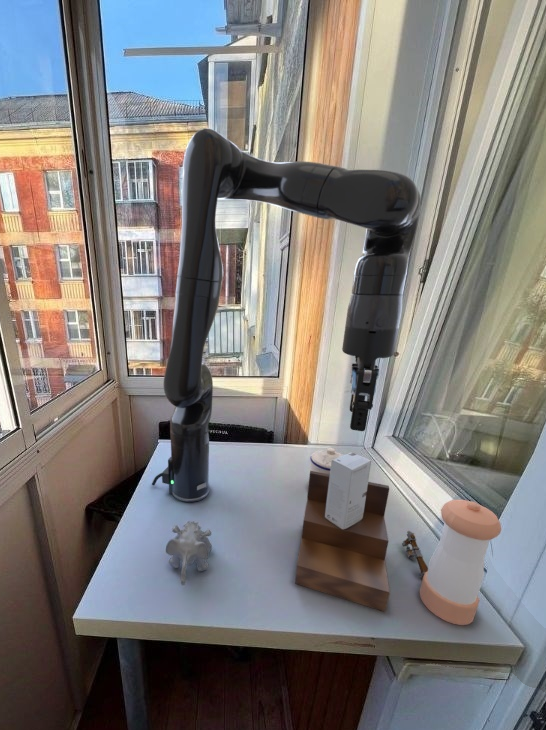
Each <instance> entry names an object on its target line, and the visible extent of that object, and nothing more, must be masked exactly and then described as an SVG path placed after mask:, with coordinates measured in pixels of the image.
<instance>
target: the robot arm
mask: <svg viewBox="0 0 546 730" xmlns="http://www.w3.org/2000/svg"><path fill="white" fill-rule="evenodd" d="M181 175H182V176H181V194H182V195H181V230H180V241H179V242H180V243H179V256H178V266H177V271H176V283H175V292H174V306H173V307H174V308H173V316H172V326H171V329H172V330H171V340H170V345H169V346H170V347H169V351H168V352H169V354H168V357H167V362H166V367H165V371H164V376H163V391H164V396H165V398H166V399H167V401H168V402H170V404H171V405H173V406H174V410H173V412H172V414H171V416H170V420H169V432H170V456H169V458H168V460H167V466H166V468H165V469H164V470H163V471H162V472H160V473H158V474H157V475H156V476H155V477H154V479H153V480H152V482H151V486H153V487H154V486H155V485H156V483H157V481H158V480H159V479H160V478H161V482H162V484H165V485H168V494H169V495H172V496H173V497H174V498H175V499H176V500H178V501H180V502H184V503H193V502H199V501H202V500H204V499H206V498H207V497H208V495H209V493H210V482H209V481H210V421H211V419H212V413H213V393H214V391H213V390H214V381H213V376H212V372H211V370H210V368H209V367H208V365H206V364H205V363H204V362H203V356H204V351H205V345H206V342H207V340H208V337H209V334H210V331H211V329H212V327H213V325H214V321H215V318H216V317H217V316H216V315H217V312H218V309H219V305H220V299H221V294H222V288H223V281H224V280H223V279H224V266H223V260H222V254H221V249H220V244H219V240H218V234H217V226H216V225H217V223H216V222H217V221H216V220H217V219H216V218H217V207H218V200H236V201H237V200H240V201H254V202H259V203H265V204H269V205H272V206H276V207H278V208H283V209H285V210H289V211H292V212H296V213H298V214H302V215H306V216H310V217H312V218H317V219H321V220H326V221H341V222H344V223H347V224H351V225H354V226H357V227H361V228H364V229H366V230H365V235H364V236H365V237H364V242H363V248H362V254H361V256H360V257H358V259H357V261H356V264H355V267H354V273H353V280H352V286H351V295H350V298H349V303H348V306H347V311H346V319H345V326H344V331H343V333H344V334H343V339H342V340H343V341H342V347H341V349H342V353H343V354H345V355H348V356H352V357H354V362H351V365H350V381H349V383H350V385H351V386H350V394H351V396H350V402H349V412H351V417H350V423H349V429H350V430H351V431H357V432H365V431H366V427H367V422H368V416H369V410H370V411H371V410H372V408H374V404H373V403H374V397H375V394H376V392H377V391H376V390H377V381H378V378H379V377H380V368H379V365H377V364H376V360H377V359H379V358H380V359H388V358H391V357H393V356H394V354H395V351H396V347H397V341H398V335H399V329H400V323H401V318H402V312H403V298H404V297H403V296H404V295H403V294H404V291H405V285H406V278H407V273H408V265H409V256H410V253H411V250H412V247H413V244H414V240H415V236H416V232H417V229H418V225H419V220H420V215H421V210H422V198H421V193H420V192H419V189H418V187H417V185H416V183H415V181H414V180H413V179H412V178H411V177H409V176H408V175H406V174H403V173H399V172H396V171H391V170H384V169H349V168H345V167H342V166H338V165H331V164H327V163H321V162H314V161H306V160H305V161H301V160H299V161H284V162H272V161H267V160H263V159H260V158H257V157H256V156H253V155H250V154H249V153H246V152H245V151H243V150H241V149H240V148H239V147H238V145H236V144H235V143H233V142H232V141H231V140H229V139H228V138H227V137H226V136H224V135H223V134H221V133H219V132H218V131H216V130H214V129H211V128H202V129H199V130H198V131H196V132H195V133H194V134H193V135H192V136H191V137H190V140H189V142H188V143H187V146H186V148H185V151H184V155H183V161H182V174H181Z"/></svg>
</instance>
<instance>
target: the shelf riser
mask: <svg viewBox="0 0 546 730" xmlns="http://www.w3.org/2000/svg"><path fill="white" fill-rule="evenodd" d="M309 475H310V477H308V484H309V486H308V487H307V495H306V496H307V497H306V503H305V509H304V515H303V520H302V530H301V539H300V545H299V550H298V557H297V562H296V570H295V579H294V580H295V581H294V584H296V585H299V586H302V587H306V588H308V589H311V590H315V591H318V592H321V593H324V594H327V595H331V596H334V597H337V598H341V599H343V600H347V601H349V602H353V603H356V604H359V605H363V606H365V607H369V608H372V609H375V610H378V611H382V612H387V607H388V604H389V603H388V602H389V597H390V594H391V593H390V584H389V578H388V572H387V566H386V556H387V551H388V545H389V535H388V531H387V530H388V529H387V525H386V519H385V514H386V508H387V503H388V497H389V493H390V486H389V485H388V484H387V485H386V484H382V483H377V482H372V481H368V486H367V493H366V500H365V507H364V513H363V518H362V519H361V520H360V521H358V522H357V523H355V524H354V525H352V526H350V527H348V528H346V529H341V528H339V527H338V526H336V525H335V524H333V523H332V522H330V521H329V520H328V519H326V518H325V510H326V502H327V494H328V486H329V477H330V474H325V473H320V472H315V471H310V470H309Z"/></svg>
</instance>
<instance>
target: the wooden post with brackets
mask: <svg viewBox="0 0 546 730" xmlns="http://www.w3.org/2000/svg"><path fill="white" fill-rule="evenodd" d="M406 532H407V534H406V537H407V538H406V539H405V540H403V541H402V543H401V545H402V547H405V548H406V550H405V553H406V555H407V558H409V559H410V560H412V561H413V560H415V559H416V561H417V563H418V567H419V571H420V574H419V578H420V579H423V576H424V574H425V572H427V571H428V567H429V566H428V565H427V564H426V562H425V560H424V558H423V557H424V556H423V554H422V552H421V548H420V546H418V543H417V539H416V536H415V533H414V532H412V531H411V530H407V531H406ZM409 545H410V546H411V547H410V546H409Z"/></svg>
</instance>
